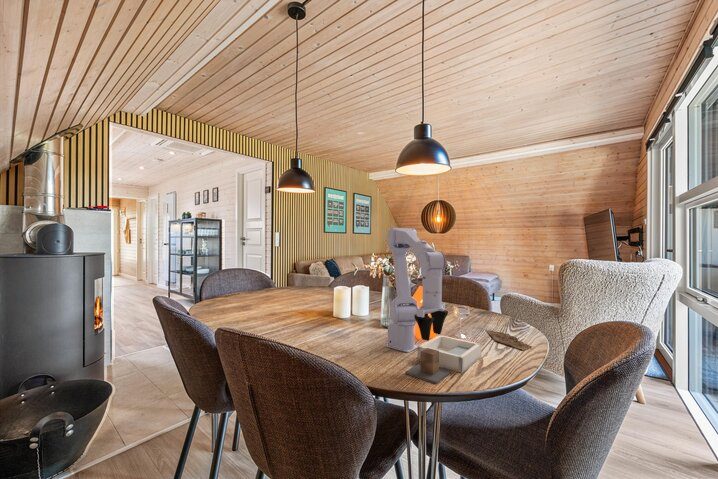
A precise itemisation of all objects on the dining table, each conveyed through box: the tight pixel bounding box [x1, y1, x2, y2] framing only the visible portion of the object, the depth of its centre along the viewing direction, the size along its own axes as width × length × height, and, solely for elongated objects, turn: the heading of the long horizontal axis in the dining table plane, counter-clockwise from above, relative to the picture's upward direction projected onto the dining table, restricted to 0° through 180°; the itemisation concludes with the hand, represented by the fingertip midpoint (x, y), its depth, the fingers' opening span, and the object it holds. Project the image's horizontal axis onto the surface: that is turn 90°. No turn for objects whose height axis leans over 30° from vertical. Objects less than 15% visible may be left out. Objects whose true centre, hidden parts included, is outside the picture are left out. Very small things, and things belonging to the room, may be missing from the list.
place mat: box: [404, 362, 453, 385], centre depth 94 cm, size 10×10×1 cm
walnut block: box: [419, 348, 440, 375], centre depth 94 cm, size 4×4×6 cm
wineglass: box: [452, 304, 471, 339], centre depth 131 cm, size 7×7×12 cm
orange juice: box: [412, 285, 438, 340], centre depth 131 cm, size 8×9×20 cm
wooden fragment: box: [485, 329, 533, 352], centre depth 127 cm, size 26×11×1 cm, turn 5°
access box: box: [417, 334, 482, 373], centre depth 106 cm, size 15×16×4 cm
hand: (431, 336), depth 96 cm, fingers open, 7 cm apart
